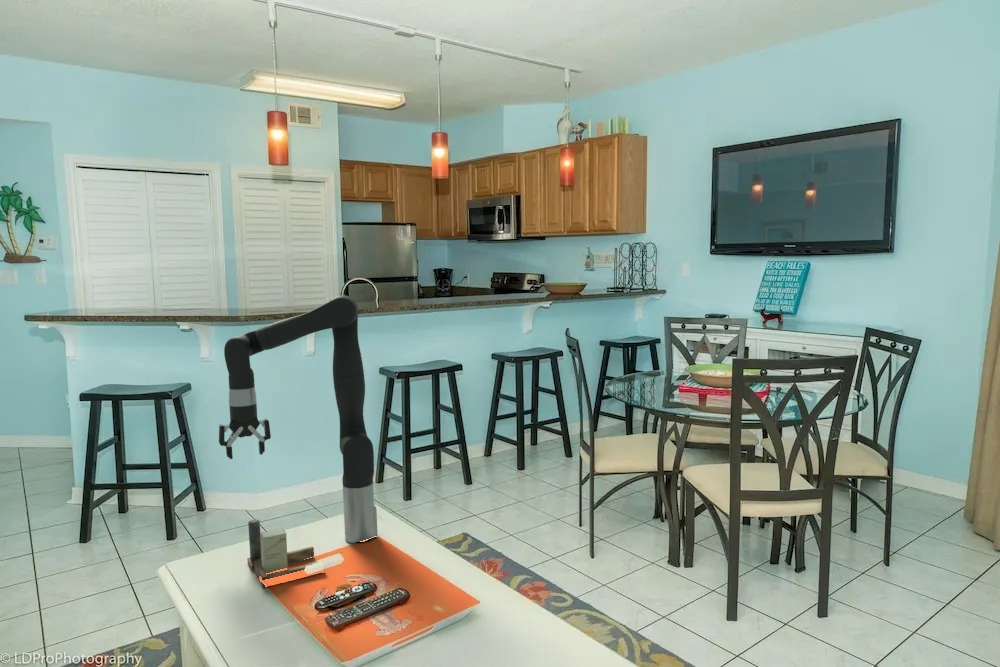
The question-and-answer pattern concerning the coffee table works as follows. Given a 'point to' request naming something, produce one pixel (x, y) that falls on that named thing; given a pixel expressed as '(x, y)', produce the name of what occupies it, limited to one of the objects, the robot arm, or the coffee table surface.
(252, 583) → the coffee table surface
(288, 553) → the brown frame
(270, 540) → the skincare box
